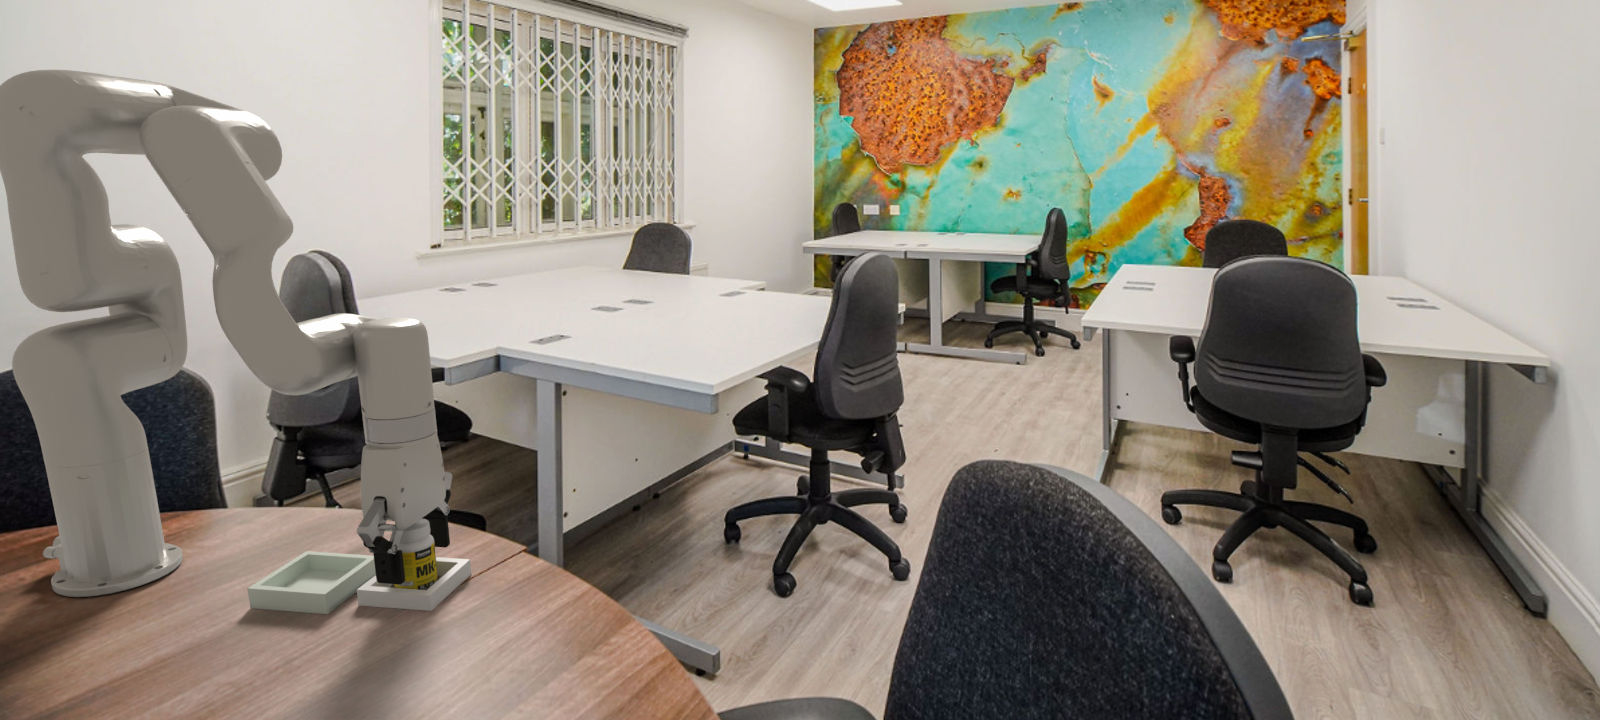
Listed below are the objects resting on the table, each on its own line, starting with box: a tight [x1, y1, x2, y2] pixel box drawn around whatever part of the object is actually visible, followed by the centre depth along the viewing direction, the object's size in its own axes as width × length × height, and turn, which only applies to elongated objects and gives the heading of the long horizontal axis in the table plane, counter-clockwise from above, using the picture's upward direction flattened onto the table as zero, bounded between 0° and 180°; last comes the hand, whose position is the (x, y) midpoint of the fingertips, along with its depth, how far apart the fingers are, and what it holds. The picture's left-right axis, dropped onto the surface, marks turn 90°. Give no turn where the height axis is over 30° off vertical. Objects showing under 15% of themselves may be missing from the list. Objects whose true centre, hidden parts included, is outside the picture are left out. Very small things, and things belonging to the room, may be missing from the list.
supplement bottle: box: [393, 518, 439, 590], centre depth 98 cm, size 5×5×8 cm
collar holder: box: [356, 556, 472, 612], centre depth 99 cm, size 9×9×2 cm
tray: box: [247, 550, 376, 615], centre depth 98 cm, size 10×10×2 cm
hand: (415, 563), depth 98 cm, fingers open, 9 cm apart
